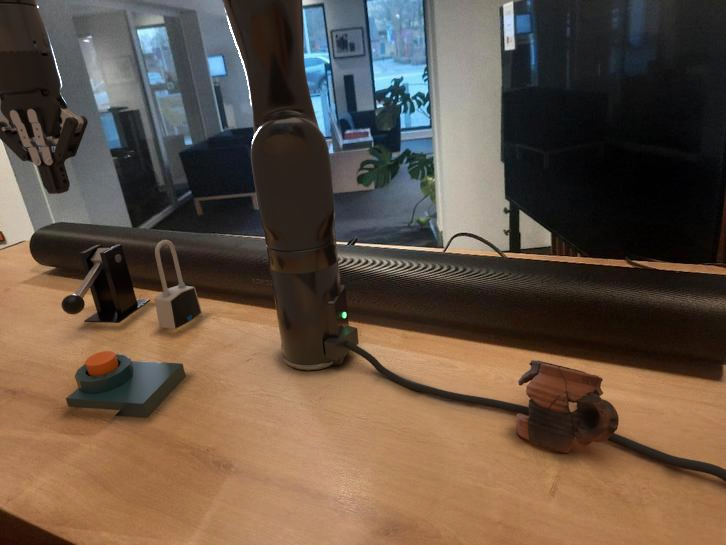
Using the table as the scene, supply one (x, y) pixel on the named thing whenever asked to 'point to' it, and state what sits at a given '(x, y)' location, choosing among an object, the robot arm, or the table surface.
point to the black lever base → (111, 286)
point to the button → (101, 363)
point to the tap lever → (83, 286)
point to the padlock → (175, 296)
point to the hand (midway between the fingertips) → (59, 192)
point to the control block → (127, 387)
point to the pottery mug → (564, 408)
